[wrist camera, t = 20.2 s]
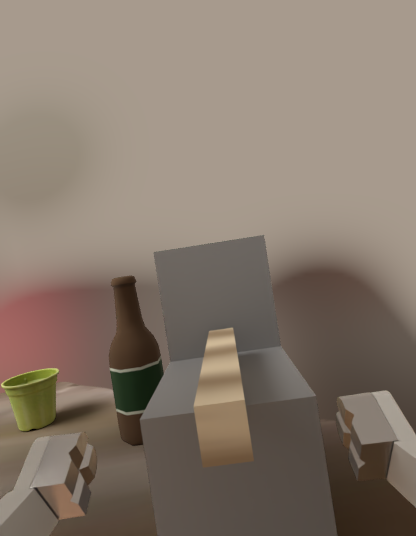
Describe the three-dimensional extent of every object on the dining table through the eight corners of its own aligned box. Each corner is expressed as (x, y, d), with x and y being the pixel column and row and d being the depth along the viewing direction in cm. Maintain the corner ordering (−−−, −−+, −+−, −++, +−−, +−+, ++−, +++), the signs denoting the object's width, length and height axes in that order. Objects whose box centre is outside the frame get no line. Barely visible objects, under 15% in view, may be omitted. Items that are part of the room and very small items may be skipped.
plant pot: (76, 414, 65) (69, 368, 65) (28, 440, 57) (20, 387, 57) (46, 410, 70) (39, 367, 70) (-3, 433, 62) (-10, 385, 62)
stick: (254, 461, 17) (244, 399, 17) (202, 467, 17) (193, 406, 17) (237, 356, 36) (233, 327, 36) (213, 359, 36) (209, 331, 36)
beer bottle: (181, 421, 55) (158, 271, 55) (154, 448, 48) (128, 275, 48) (140, 419, 58) (118, 277, 58) (110, 444, 51) (84, 282, 51)
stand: (347, 602, 23) (289, 217, 23) (170, 621, 24) (112, 245, 24) (286, 437, 45) (256, 240, 45) (195, 449, 46) (165, 254, 46)
